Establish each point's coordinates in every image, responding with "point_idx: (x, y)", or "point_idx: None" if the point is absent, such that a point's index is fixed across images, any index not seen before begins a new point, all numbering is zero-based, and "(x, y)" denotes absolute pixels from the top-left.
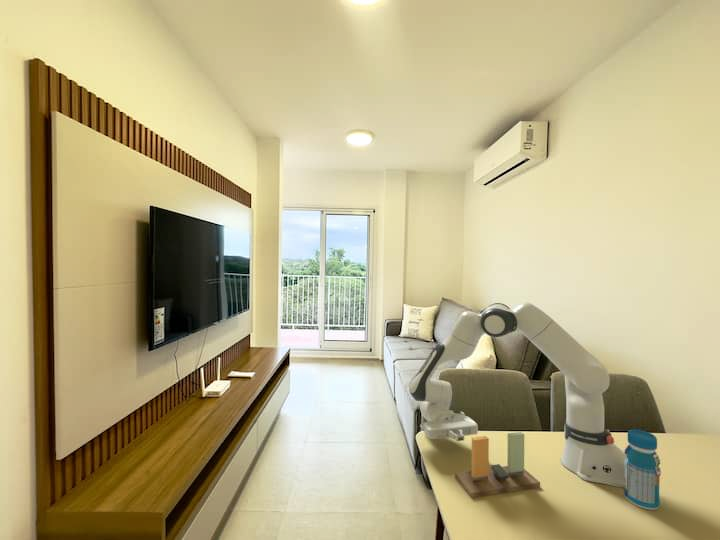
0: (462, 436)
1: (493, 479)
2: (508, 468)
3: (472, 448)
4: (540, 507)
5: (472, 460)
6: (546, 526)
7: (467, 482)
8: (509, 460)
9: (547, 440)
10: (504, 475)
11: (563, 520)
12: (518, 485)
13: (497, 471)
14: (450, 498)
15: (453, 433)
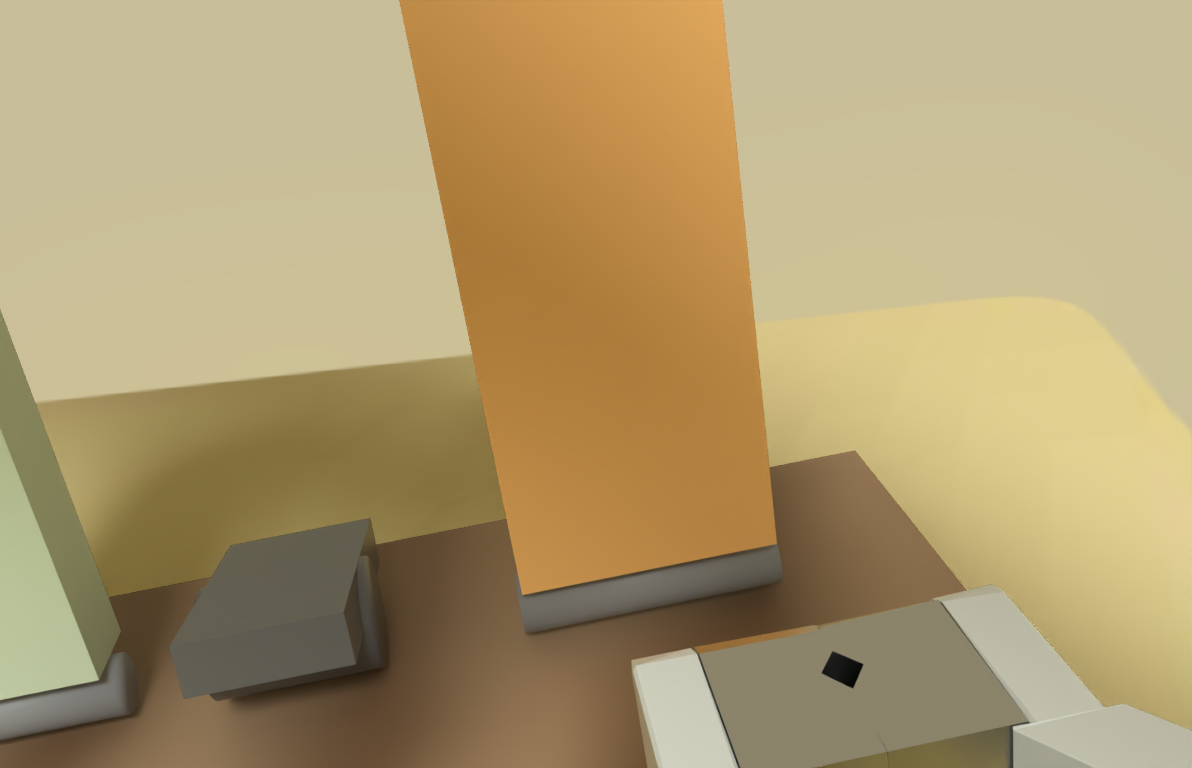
0: (716, 648)
1: (436, 639)
2: (93, 630)
3: (723, 80)
4: (219, 494)
5: (744, 295)
6: (353, 391)
7: (863, 560)
8: (49, 483)
9: None
10: (291, 537)
11: (176, 433)
12: (193, 582)
13: (336, 560)
14: (1117, 478)
15: (1173, 741)
